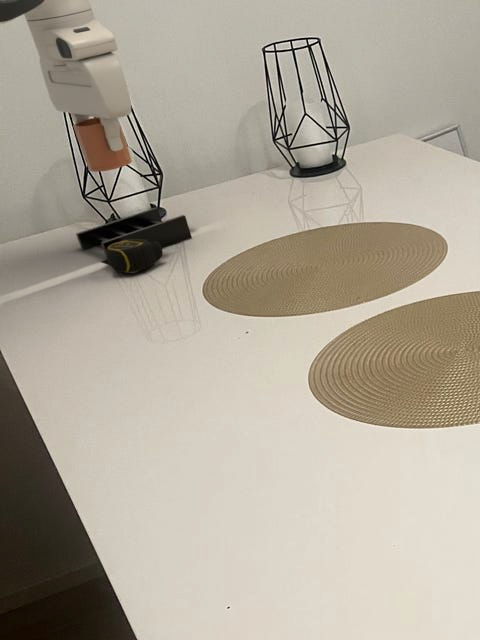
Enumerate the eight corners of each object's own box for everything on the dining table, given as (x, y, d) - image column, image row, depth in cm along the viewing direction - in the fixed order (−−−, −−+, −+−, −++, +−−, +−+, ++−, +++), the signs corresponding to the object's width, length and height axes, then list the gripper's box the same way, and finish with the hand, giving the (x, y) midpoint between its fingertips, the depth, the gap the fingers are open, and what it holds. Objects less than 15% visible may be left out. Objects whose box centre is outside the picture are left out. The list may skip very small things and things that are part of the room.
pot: (100, 173, 139) (84, 128, 135) (81, 169, 143) (66, 124, 139) (139, 161, 142) (125, 117, 138) (120, 157, 146) (106, 114, 142)
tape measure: (169, 262, 142) (160, 236, 139) (138, 278, 137) (128, 252, 135) (135, 260, 145) (126, 234, 142) (103, 276, 140) (93, 250, 138)
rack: (111, 266, 144) (103, 243, 142) (84, 255, 150) (75, 233, 148) (192, 238, 150) (185, 215, 148) (162, 229, 156) (155, 207, 154)
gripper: (18, 42, 137) (57, 147, 146) (76, 45, 124) (114, 160, 133) (59, 33, 140) (94, 136, 149) (119, 35, 127) (155, 148, 136)
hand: (104, 147), depth 141 cm, fingers closed on pot, 6 cm apart
